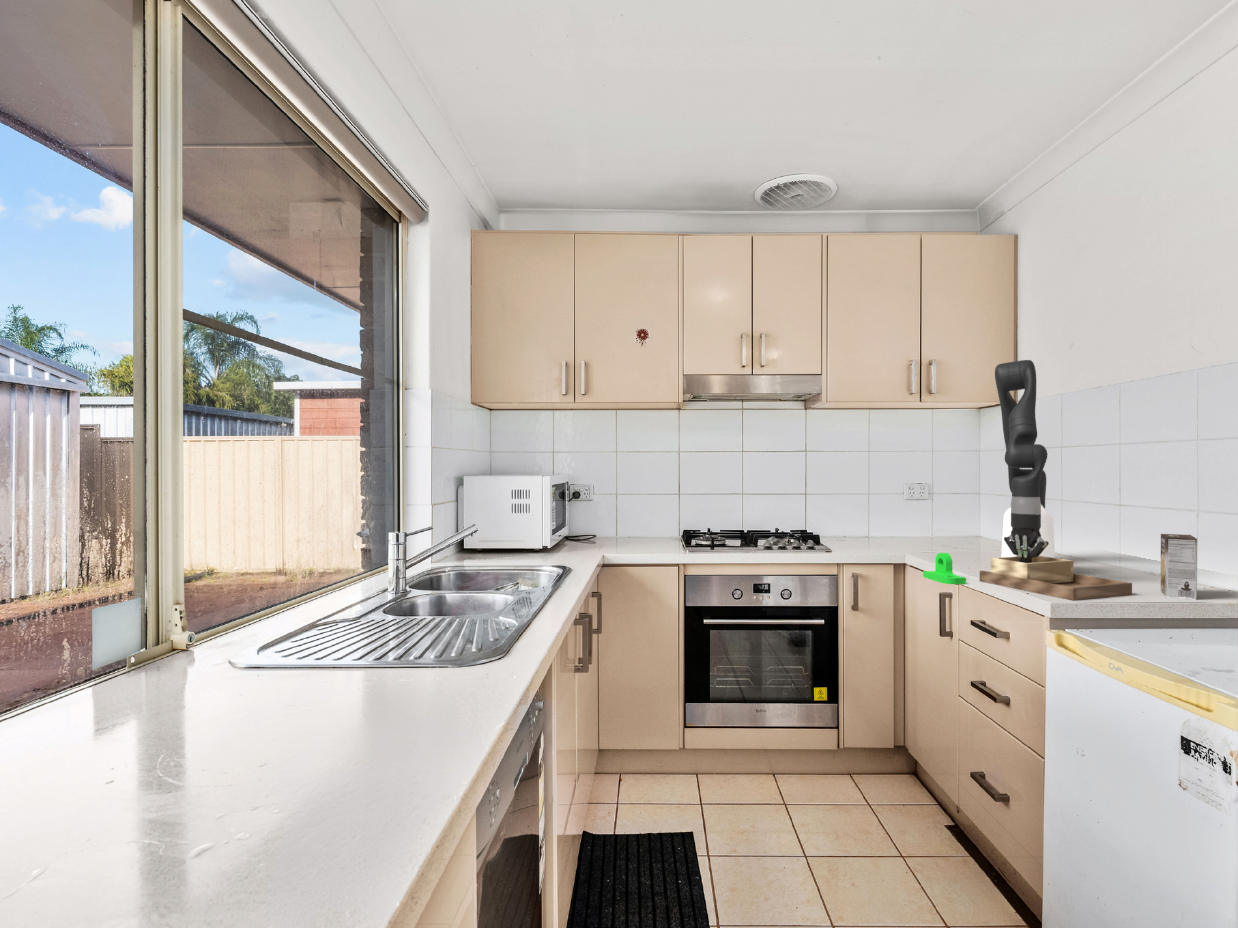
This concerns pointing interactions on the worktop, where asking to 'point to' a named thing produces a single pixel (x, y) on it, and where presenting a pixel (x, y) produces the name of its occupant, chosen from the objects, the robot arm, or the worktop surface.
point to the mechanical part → (944, 571)
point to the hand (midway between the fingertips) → (1025, 570)
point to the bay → (1063, 586)
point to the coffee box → (1179, 565)
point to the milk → (1045, 530)
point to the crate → (1035, 568)
